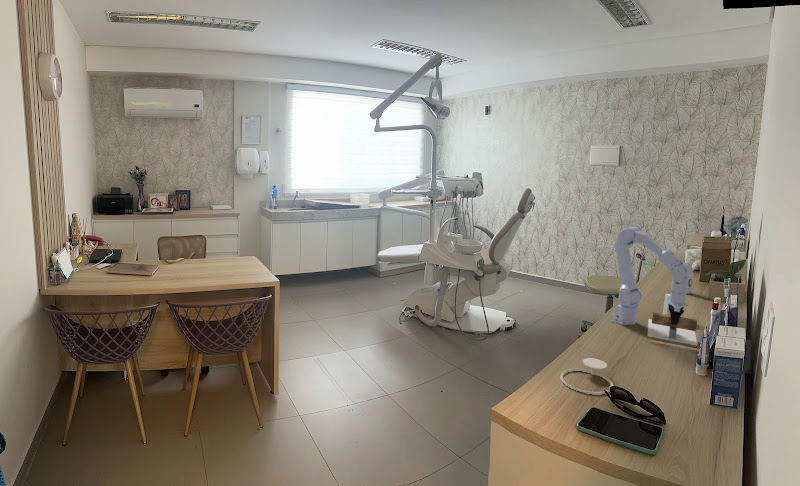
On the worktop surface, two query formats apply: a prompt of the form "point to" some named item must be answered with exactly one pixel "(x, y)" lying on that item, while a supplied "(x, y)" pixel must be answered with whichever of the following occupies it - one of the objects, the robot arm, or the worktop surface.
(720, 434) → the worktop surface
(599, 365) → the hand towel holder
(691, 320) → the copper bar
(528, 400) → the worktop surface
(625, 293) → the robot arm
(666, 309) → the skincare box
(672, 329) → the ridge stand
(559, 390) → the worktop surface
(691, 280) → the ink box
